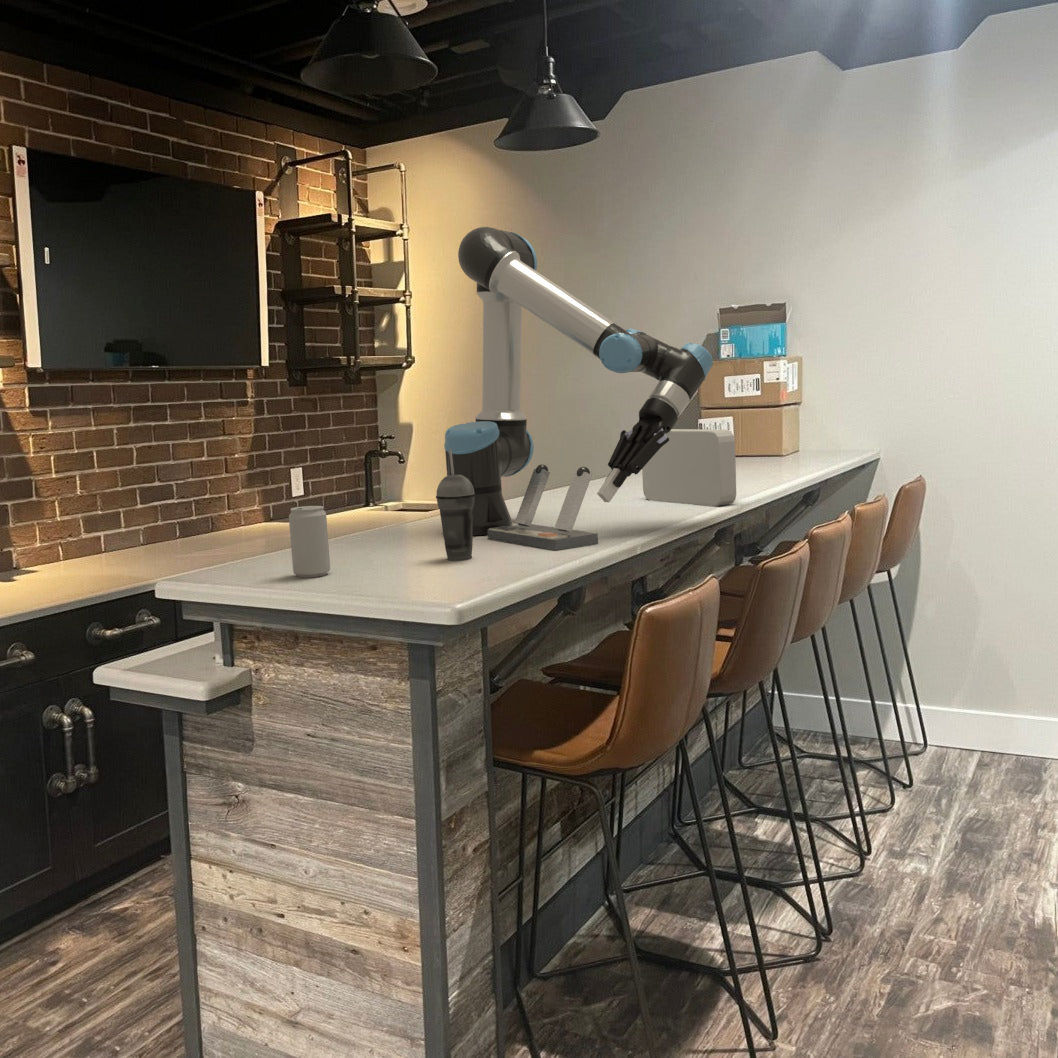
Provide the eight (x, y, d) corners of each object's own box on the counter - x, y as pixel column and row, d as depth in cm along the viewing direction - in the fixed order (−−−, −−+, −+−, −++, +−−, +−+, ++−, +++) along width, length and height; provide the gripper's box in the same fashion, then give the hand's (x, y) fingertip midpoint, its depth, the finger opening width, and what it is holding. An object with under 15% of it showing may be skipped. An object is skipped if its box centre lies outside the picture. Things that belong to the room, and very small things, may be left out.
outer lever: (562, 532, 202) (584, 469, 204) (573, 533, 199) (596, 470, 201) (552, 527, 201) (575, 464, 202) (563, 528, 198) (586, 464, 199)
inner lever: (522, 526, 214) (543, 467, 215) (532, 527, 211) (554, 467, 212) (512, 521, 212) (534, 462, 214) (522, 523, 209) (544, 462, 211)
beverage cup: (449, 563, 185) (441, 452, 182) (433, 558, 192) (426, 450, 189) (485, 558, 188) (479, 448, 186) (469, 553, 195) (462, 447, 192)
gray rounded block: (744, 504, 248) (742, 428, 246) (720, 507, 244) (718, 431, 242) (665, 497, 272) (663, 428, 270) (643, 500, 268) (640, 430, 265)
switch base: (527, 532, 218) (527, 520, 218) (598, 543, 199) (597, 530, 198) (487, 538, 213) (486, 526, 212) (555, 550, 193) (554, 536, 193)
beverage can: (296, 573, 184) (290, 506, 182) (332, 570, 184) (327, 503, 183) (291, 579, 177) (285, 510, 176) (329, 577, 178) (323, 508, 176)
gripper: (695, 420, 208) (635, 512, 201) (652, 420, 219) (593, 507, 212) (674, 395, 204) (612, 487, 197) (632, 396, 215) (571, 484, 208)
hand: (603, 497), depth 205 cm, fingers closed
